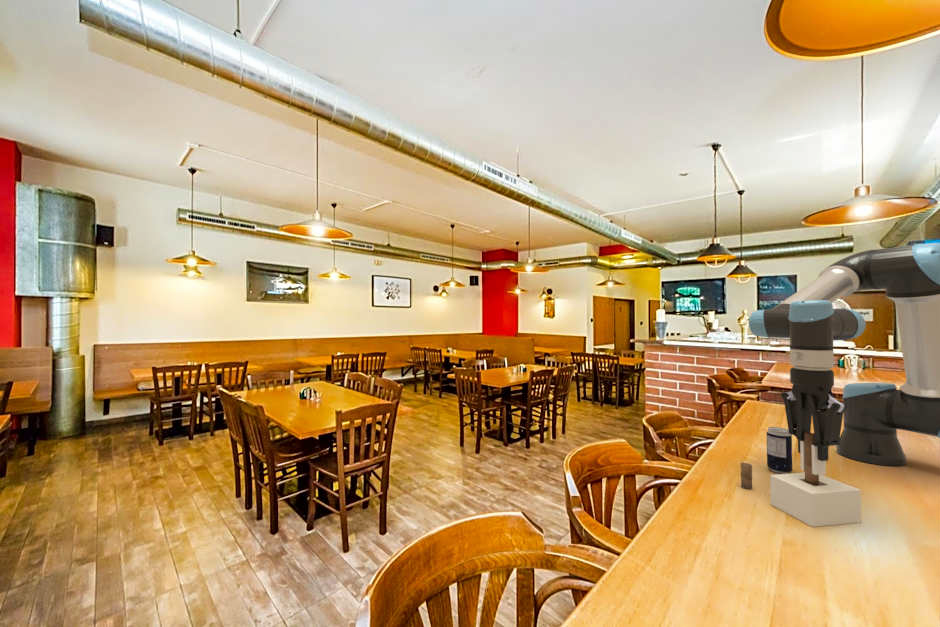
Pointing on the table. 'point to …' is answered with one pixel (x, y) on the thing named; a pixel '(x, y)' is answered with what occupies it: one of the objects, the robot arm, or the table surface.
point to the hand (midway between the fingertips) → (813, 471)
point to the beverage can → (779, 450)
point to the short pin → (746, 476)
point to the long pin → (809, 460)
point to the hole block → (816, 499)
